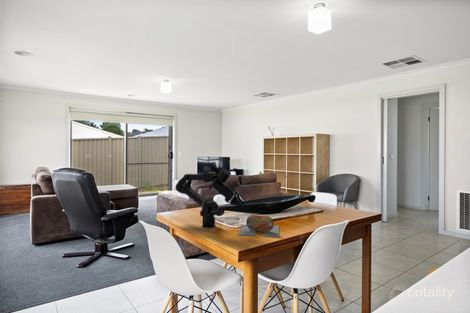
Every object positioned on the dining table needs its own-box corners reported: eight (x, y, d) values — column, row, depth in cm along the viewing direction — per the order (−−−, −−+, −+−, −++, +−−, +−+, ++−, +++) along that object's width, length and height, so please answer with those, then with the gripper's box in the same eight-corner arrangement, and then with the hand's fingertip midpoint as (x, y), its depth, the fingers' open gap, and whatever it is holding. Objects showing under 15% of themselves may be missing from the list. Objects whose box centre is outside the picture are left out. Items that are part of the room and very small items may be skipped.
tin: (246, 229, 153) (246, 214, 153) (248, 228, 156) (248, 213, 155) (272, 233, 147) (272, 217, 146) (274, 231, 149) (274, 216, 149)
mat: (237, 235, 145) (237, 234, 145) (242, 224, 164) (242, 224, 164) (278, 237, 141) (278, 236, 141) (279, 226, 161) (279, 225, 161)
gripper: (227, 176, 146) (251, 194, 144) (232, 177, 165) (254, 193, 162) (215, 193, 146) (238, 212, 144) (221, 192, 165) (242, 208, 162)
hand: (244, 205), depth 153 cm, fingers open, 9 cm apart
